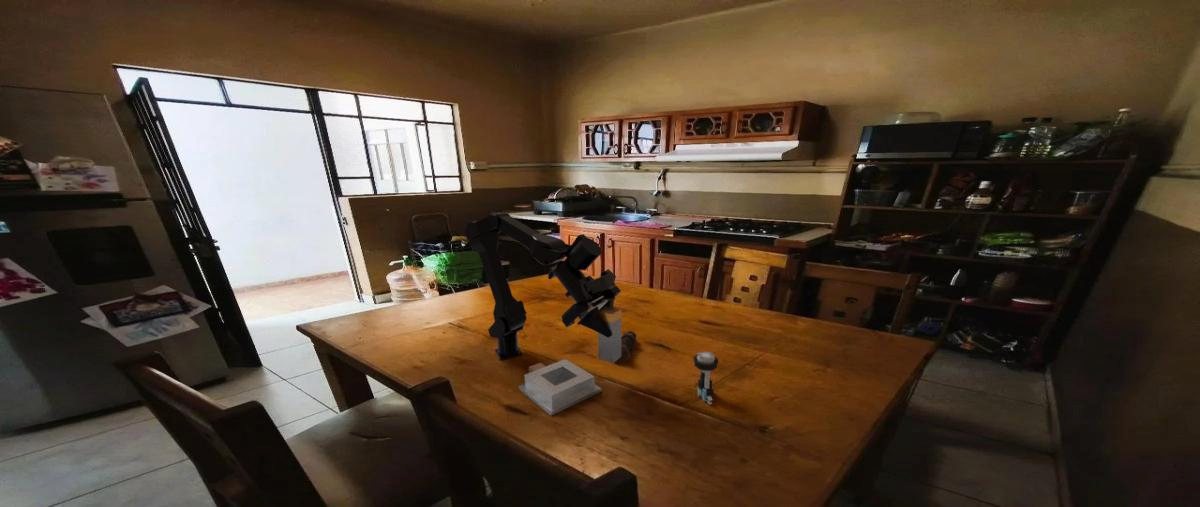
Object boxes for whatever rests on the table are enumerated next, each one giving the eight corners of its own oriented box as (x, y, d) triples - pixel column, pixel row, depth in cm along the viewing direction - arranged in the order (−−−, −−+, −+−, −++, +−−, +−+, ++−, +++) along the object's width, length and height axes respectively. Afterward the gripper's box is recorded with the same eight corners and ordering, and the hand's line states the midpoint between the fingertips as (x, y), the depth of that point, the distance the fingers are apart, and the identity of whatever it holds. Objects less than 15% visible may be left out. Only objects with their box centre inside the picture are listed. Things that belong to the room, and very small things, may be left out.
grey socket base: (510, 382, 95) (509, 368, 94) (557, 363, 103) (556, 350, 103) (550, 415, 81) (550, 399, 80) (601, 391, 89) (601, 376, 89)
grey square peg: (598, 359, 91) (597, 311, 88) (607, 352, 94) (606, 306, 92) (613, 363, 89) (612, 314, 86) (621, 356, 92) (621, 309, 90)
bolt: (633, 347, 117) (621, 369, 103) (620, 338, 118) (606, 358, 103) (643, 332, 115) (632, 352, 101) (629, 323, 116) (616, 341, 102)
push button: (722, 405, 83) (724, 363, 81) (697, 406, 83) (698, 364, 81) (712, 389, 89) (714, 349, 87) (690, 390, 89) (690, 350, 87)
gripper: (570, 269, 81) (616, 328, 77) (613, 253, 96) (653, 302, 93) (543, 299, 87) (585, 355, 83) (588, 280, 102) (625, 326, 99)
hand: (614, 333), depth 89 cm, fingers closed on grey square peg, 4 cm apart
